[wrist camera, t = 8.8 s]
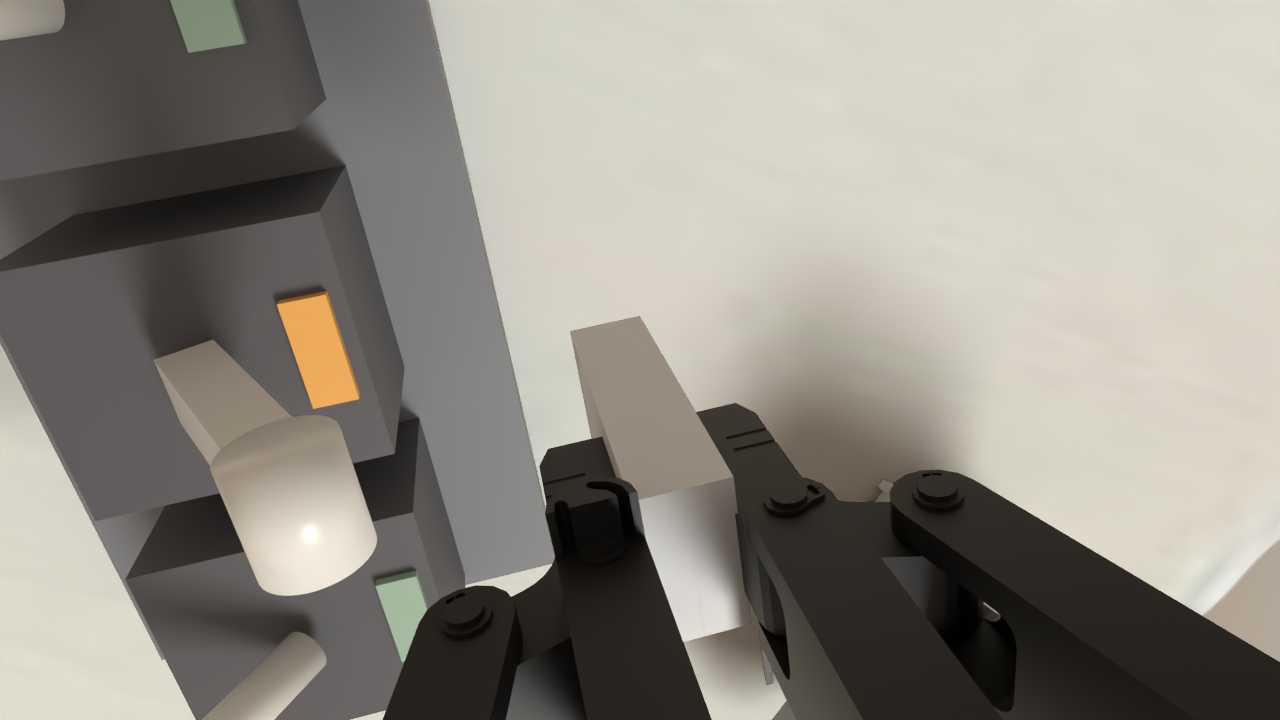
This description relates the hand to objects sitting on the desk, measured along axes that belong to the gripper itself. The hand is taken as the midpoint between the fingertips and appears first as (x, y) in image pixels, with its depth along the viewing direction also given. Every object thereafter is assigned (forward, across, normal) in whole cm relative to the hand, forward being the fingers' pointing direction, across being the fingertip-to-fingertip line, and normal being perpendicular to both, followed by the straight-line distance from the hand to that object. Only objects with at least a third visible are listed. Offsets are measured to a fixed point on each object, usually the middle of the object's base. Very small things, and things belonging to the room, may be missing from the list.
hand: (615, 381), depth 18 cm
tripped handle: (+5, -10, 0) cm, 11 cm away
